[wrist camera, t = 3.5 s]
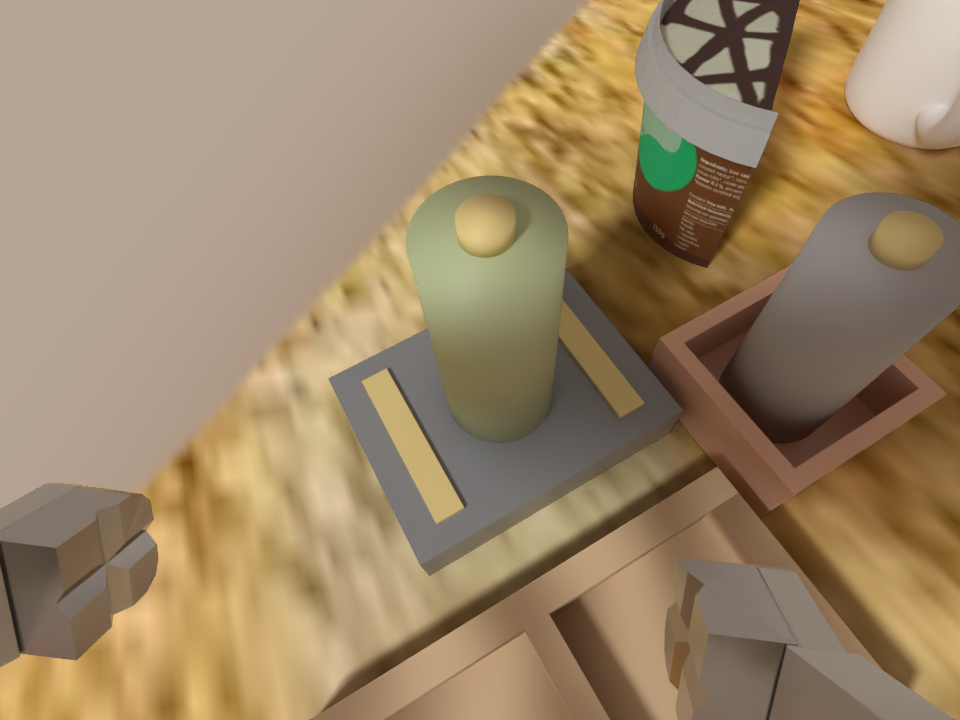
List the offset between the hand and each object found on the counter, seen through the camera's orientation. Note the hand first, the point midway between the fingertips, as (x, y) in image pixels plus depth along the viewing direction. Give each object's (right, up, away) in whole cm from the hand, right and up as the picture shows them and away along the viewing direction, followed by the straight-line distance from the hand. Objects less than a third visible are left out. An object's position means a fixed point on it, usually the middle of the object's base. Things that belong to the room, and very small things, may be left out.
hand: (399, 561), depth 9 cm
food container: (+12, +12, +24) cm, 29 cm away
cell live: (+2, +2, +16) cm, 16 cm away
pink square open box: (+14, +1, +17) cm, 22 cm away
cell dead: (+14, +1, +17) cm, 22 cm away
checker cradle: (+2, 0, +18) cm, 18 cm away
